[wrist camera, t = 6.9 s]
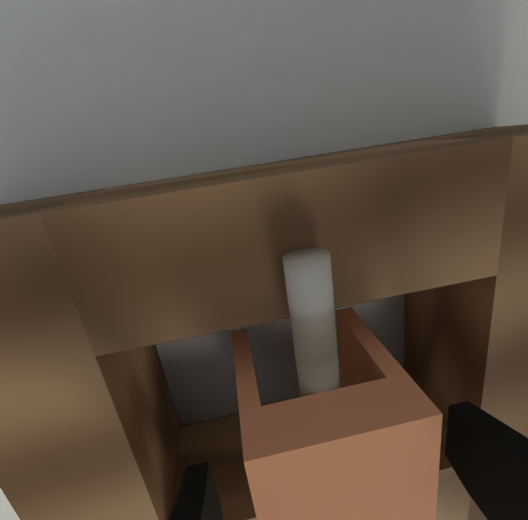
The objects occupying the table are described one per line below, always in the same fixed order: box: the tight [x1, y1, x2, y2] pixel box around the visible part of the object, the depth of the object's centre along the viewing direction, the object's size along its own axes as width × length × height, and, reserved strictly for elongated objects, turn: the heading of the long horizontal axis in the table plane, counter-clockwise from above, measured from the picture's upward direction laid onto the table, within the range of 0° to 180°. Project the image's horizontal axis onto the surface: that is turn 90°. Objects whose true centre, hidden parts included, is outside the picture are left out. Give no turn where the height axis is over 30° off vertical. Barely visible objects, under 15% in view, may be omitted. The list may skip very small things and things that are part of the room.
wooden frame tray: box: [0, 125, 528, 520], centre depth 12 cm, size 16×20×6 cm
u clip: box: [232, 307, 443, 520], centre depth 11 cm, size 4×5×6 cm
